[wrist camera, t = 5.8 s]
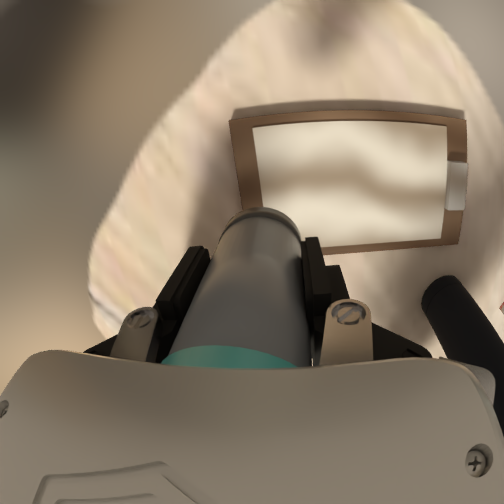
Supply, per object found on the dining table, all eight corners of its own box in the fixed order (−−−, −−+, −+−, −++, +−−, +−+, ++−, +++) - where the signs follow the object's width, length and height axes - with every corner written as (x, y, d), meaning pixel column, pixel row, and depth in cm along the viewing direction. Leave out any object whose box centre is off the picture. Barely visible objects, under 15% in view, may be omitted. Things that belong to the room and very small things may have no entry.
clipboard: (453, 240, 25) (462, 248, 23) (251, 255, 29) (249, 265, 27) (461, 119, 19) (471, 120, 17) (230, 120, 23) (226, 120, 21)
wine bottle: (412, 310, 30) (481, 531, 4) (438, 269, 27) (546, 496, 1) (443, 318, 30) (512, 506, 4) (467, 281, 27) (565, 471, 1)
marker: (304, 276, 15) (313, 520, 4) (229, 281, 15) (163, 504, 5) (299, 202, 13) (329, 503, 2) (214, 210, 13) (73, 454, 3)
